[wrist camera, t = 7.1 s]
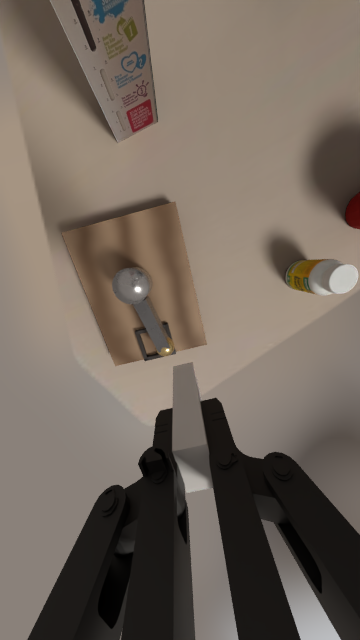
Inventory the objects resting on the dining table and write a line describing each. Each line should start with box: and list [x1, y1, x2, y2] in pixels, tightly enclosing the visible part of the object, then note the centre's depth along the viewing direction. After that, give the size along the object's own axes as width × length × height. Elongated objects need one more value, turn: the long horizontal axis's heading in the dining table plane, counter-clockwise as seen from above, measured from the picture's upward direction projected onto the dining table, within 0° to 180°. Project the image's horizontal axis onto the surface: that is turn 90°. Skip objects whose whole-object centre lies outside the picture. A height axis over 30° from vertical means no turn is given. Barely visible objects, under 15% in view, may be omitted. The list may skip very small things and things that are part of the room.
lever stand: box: [62, 202, 207, 366], centre depth 32 cm, size 18×24×4 cm
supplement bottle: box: [286, 259, 358, 295], centre depth 29 cm, size 5×5×10 cm
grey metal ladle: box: [112, 267, 175, 356], centre depth 29 cm, size 15×5×5 cm, turn 24°
